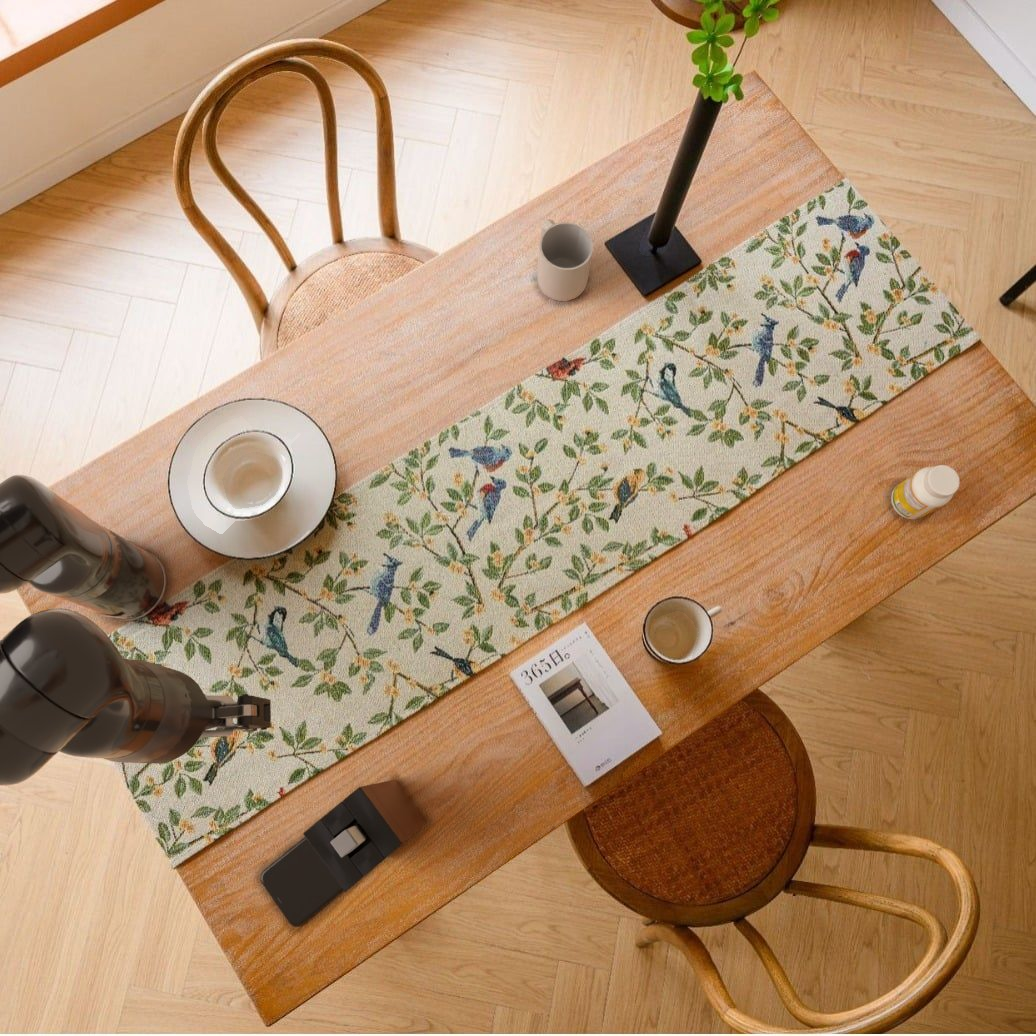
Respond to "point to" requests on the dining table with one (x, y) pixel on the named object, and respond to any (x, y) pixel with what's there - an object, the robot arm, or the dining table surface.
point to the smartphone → (300, 883)
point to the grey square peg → (349, 840)
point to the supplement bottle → (925, 491)
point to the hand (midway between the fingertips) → (207, 723)
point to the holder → (366, 829)
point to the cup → (563, 259)
